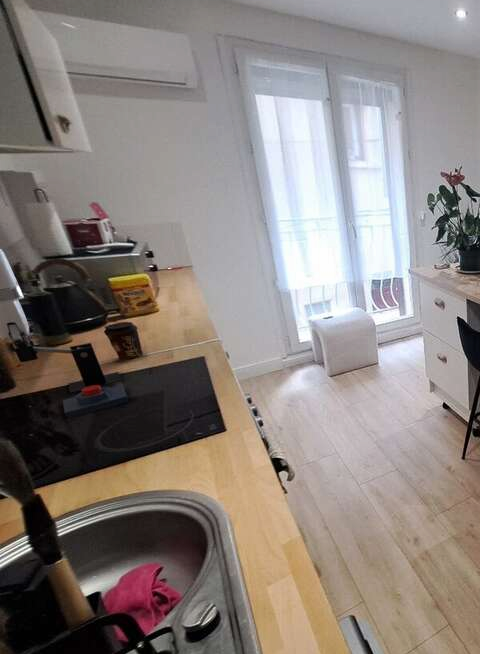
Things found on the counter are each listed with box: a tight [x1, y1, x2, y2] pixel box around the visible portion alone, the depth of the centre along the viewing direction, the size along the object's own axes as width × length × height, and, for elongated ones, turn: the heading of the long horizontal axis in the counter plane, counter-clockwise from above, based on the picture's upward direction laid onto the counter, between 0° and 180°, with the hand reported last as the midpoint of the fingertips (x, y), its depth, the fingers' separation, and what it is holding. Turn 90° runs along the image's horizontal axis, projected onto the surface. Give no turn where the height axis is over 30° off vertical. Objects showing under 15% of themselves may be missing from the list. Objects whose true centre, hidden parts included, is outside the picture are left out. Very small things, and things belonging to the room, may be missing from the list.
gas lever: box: [33, 346, 82, 355], centre depth 118 cm, size 13×5×2 cm, turn 139°
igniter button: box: [80, 385, 102, 396], centre depth 113 cm, size 4×4×2 cm
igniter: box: [62, 384, 130, 419], centre depth 114 cm, size 12×10×4 cm
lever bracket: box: [68, 342, 123, 394], centre depth 123 cm, size 11×9×13 cm
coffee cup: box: [103, 321, 144, 362], centre depth 142 cm, size 9×8×13 cm
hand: (29, 357), depth 114 cm, fingers closed on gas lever, 5 cm apart
